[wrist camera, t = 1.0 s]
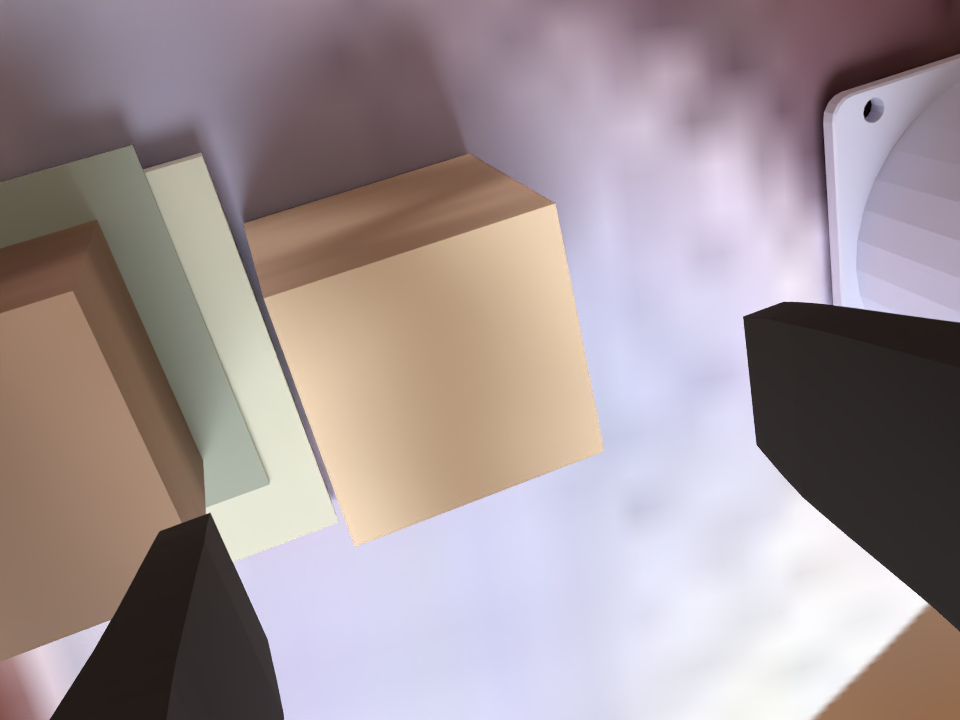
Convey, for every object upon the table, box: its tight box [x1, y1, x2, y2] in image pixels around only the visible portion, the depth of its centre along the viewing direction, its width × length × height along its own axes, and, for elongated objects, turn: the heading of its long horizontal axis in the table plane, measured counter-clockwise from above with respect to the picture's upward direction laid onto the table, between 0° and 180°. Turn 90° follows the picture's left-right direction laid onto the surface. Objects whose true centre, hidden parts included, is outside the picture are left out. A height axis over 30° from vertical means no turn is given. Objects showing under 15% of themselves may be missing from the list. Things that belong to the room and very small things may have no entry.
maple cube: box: [243, 154, 604, 547], centre depth 16 cm, size 4×4×4 cm
